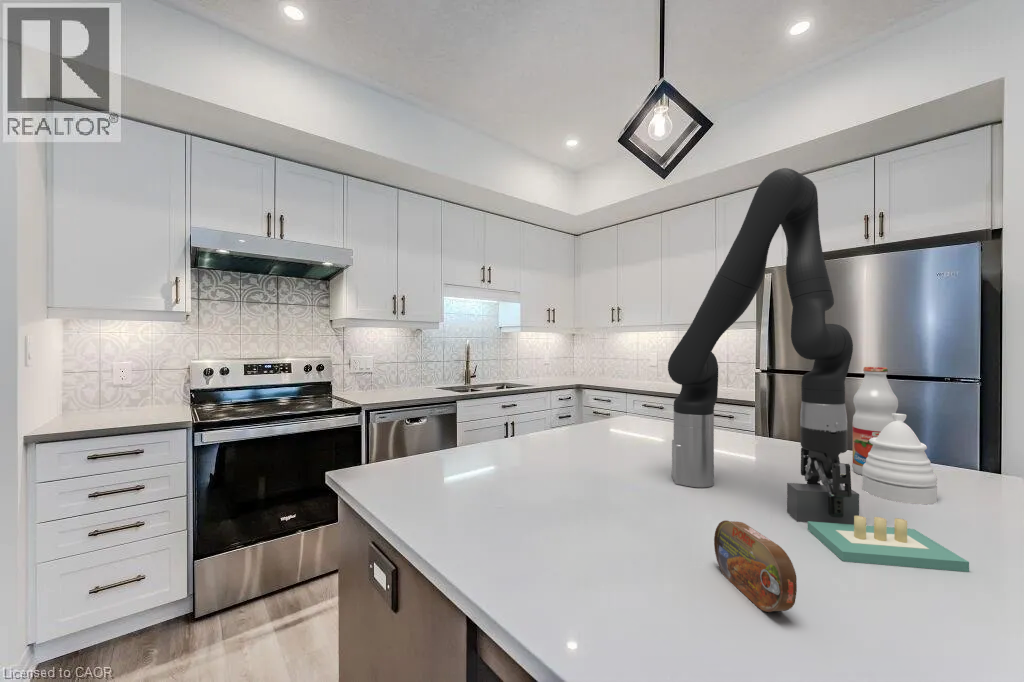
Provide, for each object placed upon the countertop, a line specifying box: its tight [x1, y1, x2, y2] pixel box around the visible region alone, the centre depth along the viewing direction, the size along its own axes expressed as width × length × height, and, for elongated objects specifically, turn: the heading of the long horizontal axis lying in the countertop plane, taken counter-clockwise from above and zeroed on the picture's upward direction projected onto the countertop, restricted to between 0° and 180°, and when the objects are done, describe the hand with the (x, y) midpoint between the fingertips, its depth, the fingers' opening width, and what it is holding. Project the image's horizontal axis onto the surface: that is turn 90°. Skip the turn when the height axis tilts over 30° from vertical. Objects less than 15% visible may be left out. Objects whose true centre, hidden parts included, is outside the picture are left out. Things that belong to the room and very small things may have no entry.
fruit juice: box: [852, 366, 899, 476], centre depth 116 cm, size 9×9×28 cm
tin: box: [713, 520, 798, 613], centre depth 62 cm, size 15×3×8 cm, turn 5°
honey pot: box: [861, 412, 938, 506], centre depth 101 cm, size 13×13×18 cm
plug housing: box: [786, 482, 860, 525], centre depth 87 cm, size 11×5×6 cm, turn 79°
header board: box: [807, 515, 970, 573], centre depth 75 cm, size 17×12×5 cm
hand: (824, 508), depth 87 cm, fingers open, 8 cm apart
